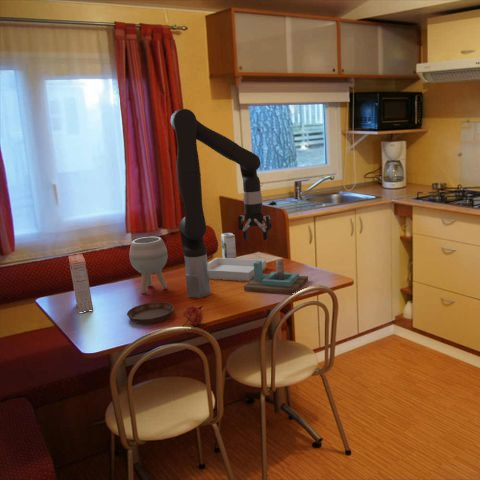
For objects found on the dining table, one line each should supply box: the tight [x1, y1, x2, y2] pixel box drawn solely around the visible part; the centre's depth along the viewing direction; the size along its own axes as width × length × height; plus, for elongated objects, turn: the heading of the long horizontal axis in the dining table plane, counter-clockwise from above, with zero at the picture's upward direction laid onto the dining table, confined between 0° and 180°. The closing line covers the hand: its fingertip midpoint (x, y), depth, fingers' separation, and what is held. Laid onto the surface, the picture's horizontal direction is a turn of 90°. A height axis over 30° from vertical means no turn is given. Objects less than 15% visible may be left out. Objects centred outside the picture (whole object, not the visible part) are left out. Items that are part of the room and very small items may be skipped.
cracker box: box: [68, 253, 94, 313], centre depth 219 cm, size 14×6×21 cm, turn 21°
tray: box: [208, 257, 267, 282], centre depth 252 cm, size 20×26×4 cm
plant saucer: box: [126, 301, 175, 325], centre depth 205 cm, size 18×18×3 cm
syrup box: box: [220, 232, 237, 259], centre depth 269 cm, size 6×6×14 cm
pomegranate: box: [182, 305, 204, 327], centre depth 194 cm, size 7×7×10 cm
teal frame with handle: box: [254, 261, 300, 287], centre depth 229 cm, size 12×17×8 cm
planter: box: [128, 236, 168, 295], centre depth 235 cm, size 16×16×22 cm
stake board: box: [243, 259, 309, 295], centre depth 228 cm, size 18×22×11 cm
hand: (256, 239), depth 229 cm, fingers open, 8 cm apart
